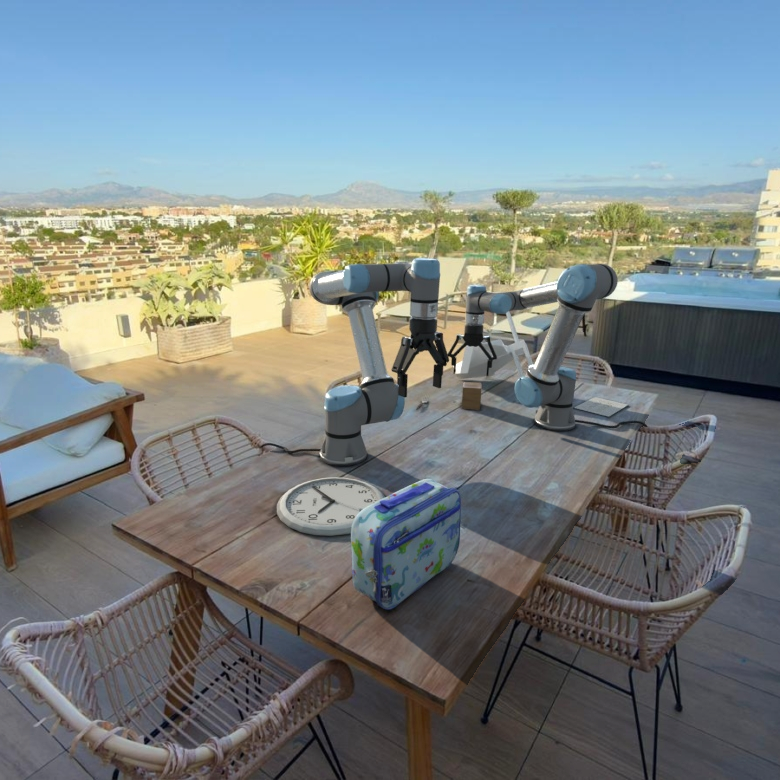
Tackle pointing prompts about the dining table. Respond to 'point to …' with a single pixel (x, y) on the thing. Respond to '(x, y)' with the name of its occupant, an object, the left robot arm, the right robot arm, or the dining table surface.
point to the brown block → (471, 395)
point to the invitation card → (601, 406)
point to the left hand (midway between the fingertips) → (420, 391)
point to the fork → (423, 402)
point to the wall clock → (326, 505)
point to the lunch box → (405, 541)
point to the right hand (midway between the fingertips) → (470, 374)
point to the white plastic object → (477, 360)
